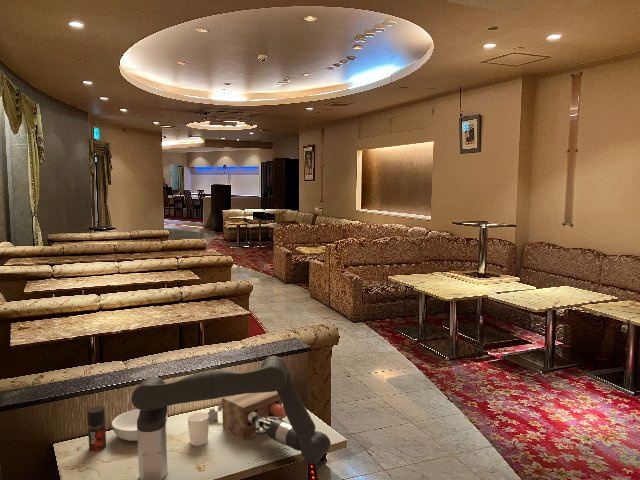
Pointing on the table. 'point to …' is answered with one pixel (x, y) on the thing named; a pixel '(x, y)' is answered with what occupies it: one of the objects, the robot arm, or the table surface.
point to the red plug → (277, 410)
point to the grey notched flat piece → (214, 412)
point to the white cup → (198, 428)
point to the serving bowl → (127, 425)
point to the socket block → (246, 411)
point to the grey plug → (251, 416)
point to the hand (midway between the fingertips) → (254, 418)
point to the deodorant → (96, 428)
